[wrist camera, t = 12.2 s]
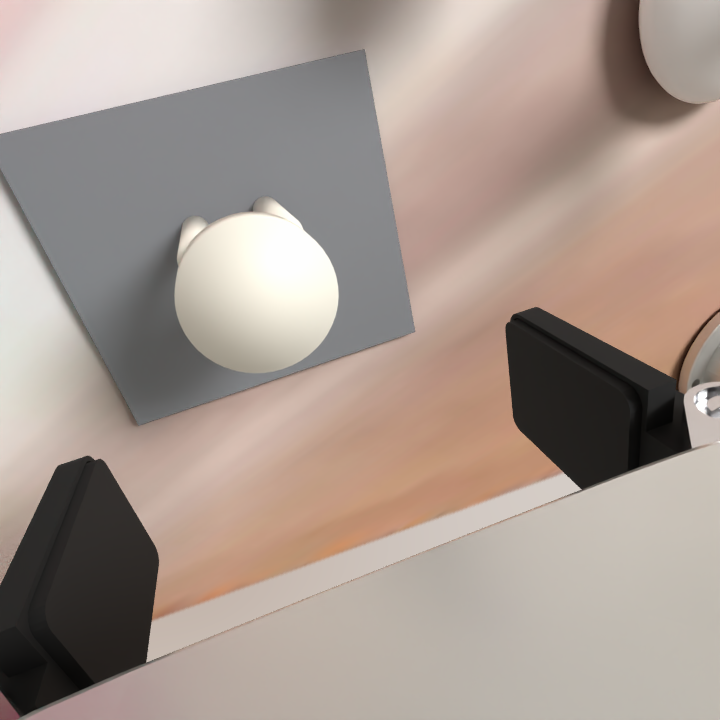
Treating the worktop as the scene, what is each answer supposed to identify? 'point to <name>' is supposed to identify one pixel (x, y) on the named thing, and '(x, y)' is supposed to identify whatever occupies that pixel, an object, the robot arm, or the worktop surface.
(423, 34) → the worktop surface
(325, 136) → the mat
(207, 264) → the stool
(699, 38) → the flower in vase
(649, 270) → the worktop surface
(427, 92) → the worktop surface
